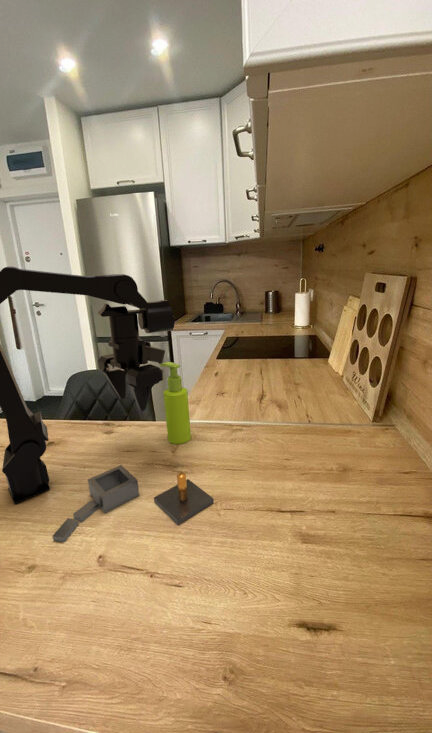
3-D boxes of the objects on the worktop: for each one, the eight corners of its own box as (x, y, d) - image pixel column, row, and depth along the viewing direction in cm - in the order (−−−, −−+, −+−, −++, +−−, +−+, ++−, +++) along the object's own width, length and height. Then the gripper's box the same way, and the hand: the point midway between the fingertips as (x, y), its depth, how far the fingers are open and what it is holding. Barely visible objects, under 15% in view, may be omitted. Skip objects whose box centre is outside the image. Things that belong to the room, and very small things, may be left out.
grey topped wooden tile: (82, 523, 58) (80, 517, 58) (74, 520, 59) (73, 513, 59) (99, 509, 61) (98, 503, 61) (92, 506, 62) (91, 499, 62)
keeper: (178, 525, 56) (175, 496, 54) (154, 501, 62) (151, 474, 60) (213, 502, 61) (212, 475, 59) (188, 483, 67) (186, 457, 65)
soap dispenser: (176, 429, 89) (170, 358, 83) (195, 436, 85) (190, 363, 79) (160, 438, 85) (152, 364, 79) (179, 446, 81) (172, 369, 75)
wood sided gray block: (64, 544, 54) (63, 537, 53) (54, 542, 54) (52, 536, 54) (79, 526, 58) (77, 519, 57) (69, 524, 58) (67, 518, 58)
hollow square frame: (104, 513, 60) (101, 497, 59) (90, 495, 65) (87, 479, 64) (139, 495, 64) (137, 479, 63) (123, 479, 69) (121, 464, 68)
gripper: (182, 336, 68) (186, 406, 72) (137, 326, 81) (143, 385, 85) (133, 345, 60) (141, 422, 65) (93, 332, 74) (101, 397, 78)
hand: (132, 404), depth 74 cm, fingers open, 9 cm apart
